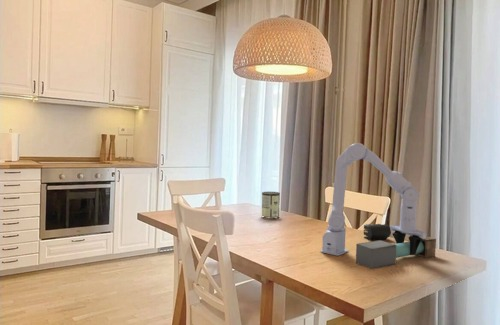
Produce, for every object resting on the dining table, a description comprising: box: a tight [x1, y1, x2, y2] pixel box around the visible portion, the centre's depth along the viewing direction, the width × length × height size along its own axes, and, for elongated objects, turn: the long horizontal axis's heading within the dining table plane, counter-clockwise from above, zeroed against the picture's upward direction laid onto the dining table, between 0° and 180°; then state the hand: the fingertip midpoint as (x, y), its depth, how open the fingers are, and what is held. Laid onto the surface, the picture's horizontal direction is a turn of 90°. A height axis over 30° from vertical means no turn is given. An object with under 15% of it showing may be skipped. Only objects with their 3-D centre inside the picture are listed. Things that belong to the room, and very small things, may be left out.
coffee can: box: [261, 191, 281, 219], centre depth 221 cm, size 10×10×14 cm
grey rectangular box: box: [355, 239, 397, 270], centre depth 139 cm, size 12×8×7 cm, turn 120°
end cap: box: [363, 223, 392, 241], centre depth 175 cm, size 10×7×7 cm
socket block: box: [409, 235, 437, 259], centre depth 152 cm, size 5×8×7 cm, turn 30°
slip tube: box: [393, 241, 425, 259], centre depth 145 cm, size 24×5×5 cm, turn 120°
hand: (406, 252), depth 147 cm, fingers closed on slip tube, 5 cm apart
